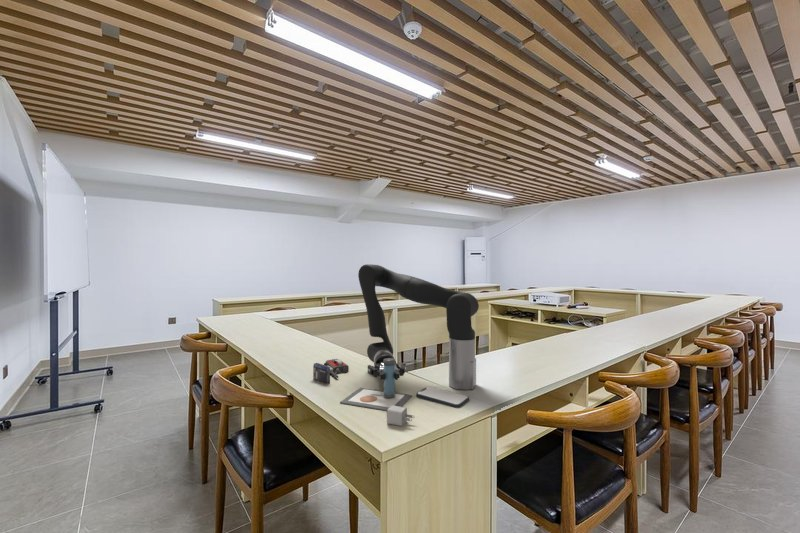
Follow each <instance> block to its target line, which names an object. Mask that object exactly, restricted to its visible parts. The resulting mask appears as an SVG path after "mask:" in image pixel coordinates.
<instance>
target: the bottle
mask: <svg viewBox="0 0 800 533" xmlns="http://www.w3.org/2000/svg"><path fill="white" fill-rule="evenodd" d="M395 361H396V358H394V359H393V358H386V359H383V364H384V373H385V381H383V391H384V398H387V399H391V398H394V397H395V393H396V387H395V385H396V380H395Z"/></svg>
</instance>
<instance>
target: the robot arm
mask: <svg viewBox="0 0 800 533" xmlns="http://www.w3.org/2000/svg"><path fill="white" fill-rule="evenodd" d="M357 276H358V281H359V286H360V290H361V294H362V296H363V300H364V304H365V307H366V314H367V322H368V330H369V335H370V337H372V338H381V340H382V341H380V342H373V343H370V344H369V345H367V349H366V352H367V357H368V358H369V360H370V362H372V363H373V365H370V364H367V374H369V376H372V377H373V378H377V377H379V379H380V380H382V382H384V381H385V373H384V364H383V359H386V358H393V359H395V356H394V347H393V345H392V342H391V341H390V338H389V334H388V331H387V324H386V318H385V316H386V315H385V312H384V310H383V308H382V306H381V303H380V301H379V299H378V297H377V293H376V287H380V288H381V287H382V288H385V289H389V290H391V291H394V292H395V293H396V294H398V295H399V296H400V297H402V298H404V299H406V300H409V301H411V302H414V303H417V304H421V305H422V304H423V305H428V306H434V307H435V306H436V307H441V308H445V310H446V329H447V332H448V386H449V387H451V388H453V389H455V390H463V391H464V390H465V391H466V390H474V389H475V387H476V385H477V358H476V331H475V330H474V329H473V327H472V317H473V316H474V315H476V313H478V310H479V302H478V299H477V298H476V297H475V296H474V295H473V294H471V293H469V292H465V291H464V292H463V291H459V290H453V289H450V288H447V287H443V286H441V285H438V284H435V283H433V282H430V281H427V280H425V279H422V278H419V277H416V276H413V275H412V276H411V275H408V274H403V273H397V272H395V271H392V270H390V269H388V268H386V267H384V266H382V265H379V264H369V263H367V264H363V265H361V267H360V268H359V270H358V275H357ZM406 372H407V364H406V363H402V364H400V365H399V364H398V362H397V361H396V360H395V381H398V380H399V379H400V377H404V375H405V373H406Z"/></svg>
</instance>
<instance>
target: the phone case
mask: <svg viewBox="0 0 800 533" xmlns="http://www.w3.org/2000/svg"><path fill="white" fill-rule="evenodd" d="M415 397H416V398H418V399H421V400H425V401H428V402H433V403H436V404H440V405H444V406H449V407H452V408H456V409H459V408H461V407H463V406H464V405H465V404H467V403H468V402H469V401H470V397H469V396H467V395H464V394H460V393H458V392H457V393H456V392H451V391H448V390H445V389H441V388H437V387H432V386H426V387H423V389H421V390H418V391H417V392H416V393H415Z"/></svg>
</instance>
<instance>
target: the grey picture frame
mask: <svg viewBox="0 0 800 533" xmlns="http://www.w3.org/2000/svg"><path fill="white" fill-rule="evenodd" d="M411 397H413V395H412V394H408V393H403V392H402V393H401V392H395V397H394V398H391V399H387V398H384V390H381V389H380V390H379V389H373V388H367V387H360V388H358V389H356V390H355V391H354V392H352V393H351V394H350V395H348V396H347V397H345V398H344V399H342V400H341V401H339V403H340V404H343V405H349V406H354V407H359V408H360V407H361V408H365V409H366V408H367V409H372V410H378V411H385V412H387V410H388V408H390V407H391V406H392V405H393V406H399V407H403V406H404V405H405V404H406V403H407V402H408V401H409V400H410V399H411Z"/></svg>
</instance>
